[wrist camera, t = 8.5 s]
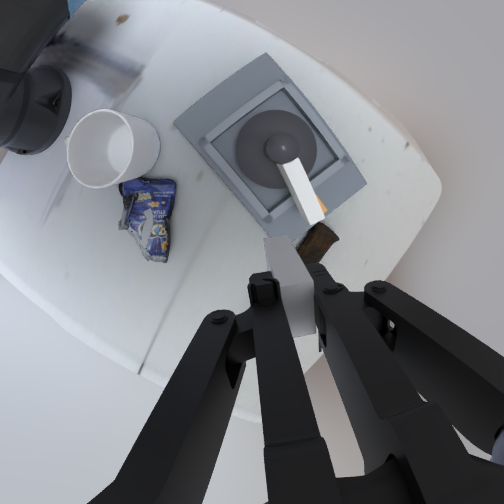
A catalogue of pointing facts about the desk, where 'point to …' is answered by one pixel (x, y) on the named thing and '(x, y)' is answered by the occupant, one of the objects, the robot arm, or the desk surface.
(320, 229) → the dark brown lumpy bar
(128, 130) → the mug
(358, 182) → the panel
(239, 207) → the desk surface
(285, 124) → the dial
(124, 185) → the snack package
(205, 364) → the robot arm
